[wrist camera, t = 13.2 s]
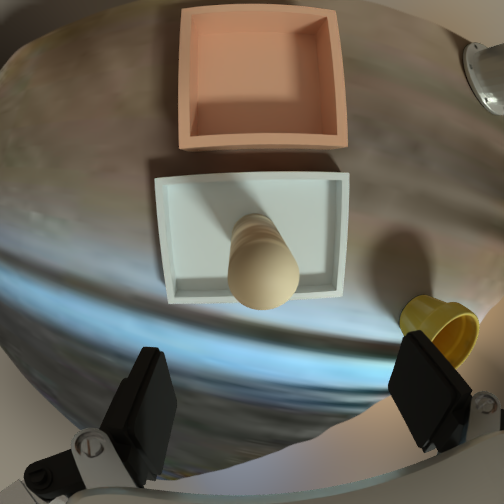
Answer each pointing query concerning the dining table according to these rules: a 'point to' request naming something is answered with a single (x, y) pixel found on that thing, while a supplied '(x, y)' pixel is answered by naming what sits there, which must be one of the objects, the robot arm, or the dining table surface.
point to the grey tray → (243, 203)
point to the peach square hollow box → (260, 78)
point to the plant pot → (442, 326)
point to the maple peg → (260, 264)
